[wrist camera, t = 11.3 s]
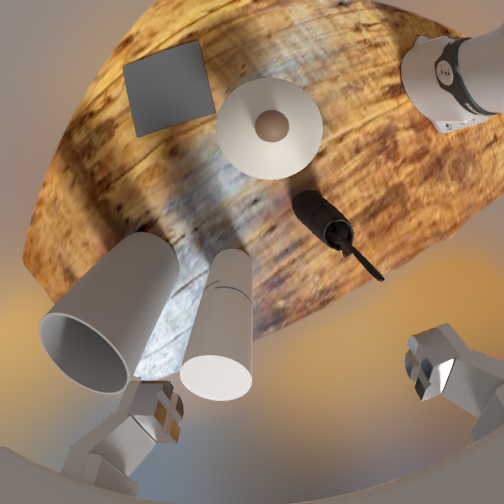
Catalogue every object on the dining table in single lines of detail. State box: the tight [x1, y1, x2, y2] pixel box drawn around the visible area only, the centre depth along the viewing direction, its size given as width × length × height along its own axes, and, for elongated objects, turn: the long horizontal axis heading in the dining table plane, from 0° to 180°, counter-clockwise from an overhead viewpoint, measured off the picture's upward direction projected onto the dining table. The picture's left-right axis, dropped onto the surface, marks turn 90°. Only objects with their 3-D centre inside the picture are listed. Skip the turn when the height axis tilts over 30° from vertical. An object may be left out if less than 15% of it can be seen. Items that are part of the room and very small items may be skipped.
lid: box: [216, 78, 323, 180], centre depth 25 cm, size 11×11×5 cm
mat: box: [123, 40, 216, 137], centre depth 36 cm, size 13×13×1 cm
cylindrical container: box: [180, 249, 253, 401], centre depth 37 cm, size 7×7×25 cm
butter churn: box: [293, 191, 384, 282], centre depth 31 cm, size 9×10×28 cm
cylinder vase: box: [39, 232, 179, 395], centre depth 37 cm, size 12×12×25 cm
